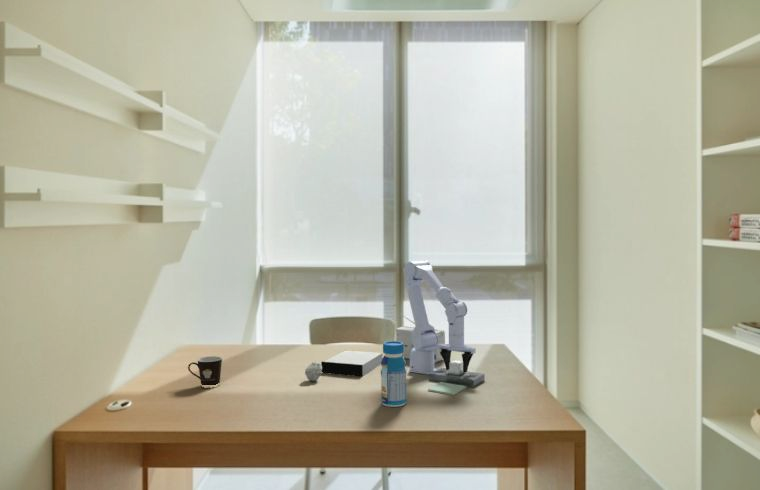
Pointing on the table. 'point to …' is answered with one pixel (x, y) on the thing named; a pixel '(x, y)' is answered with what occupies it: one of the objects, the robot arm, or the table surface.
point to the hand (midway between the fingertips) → (456, 370)
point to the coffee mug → (208, 370)
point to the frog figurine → (313, 371)
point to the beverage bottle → (393, 375)
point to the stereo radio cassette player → (406, 338)
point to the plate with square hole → (457, 378)
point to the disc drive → (352, 363)
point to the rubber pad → (447, 388)
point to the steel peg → (456, 368)
